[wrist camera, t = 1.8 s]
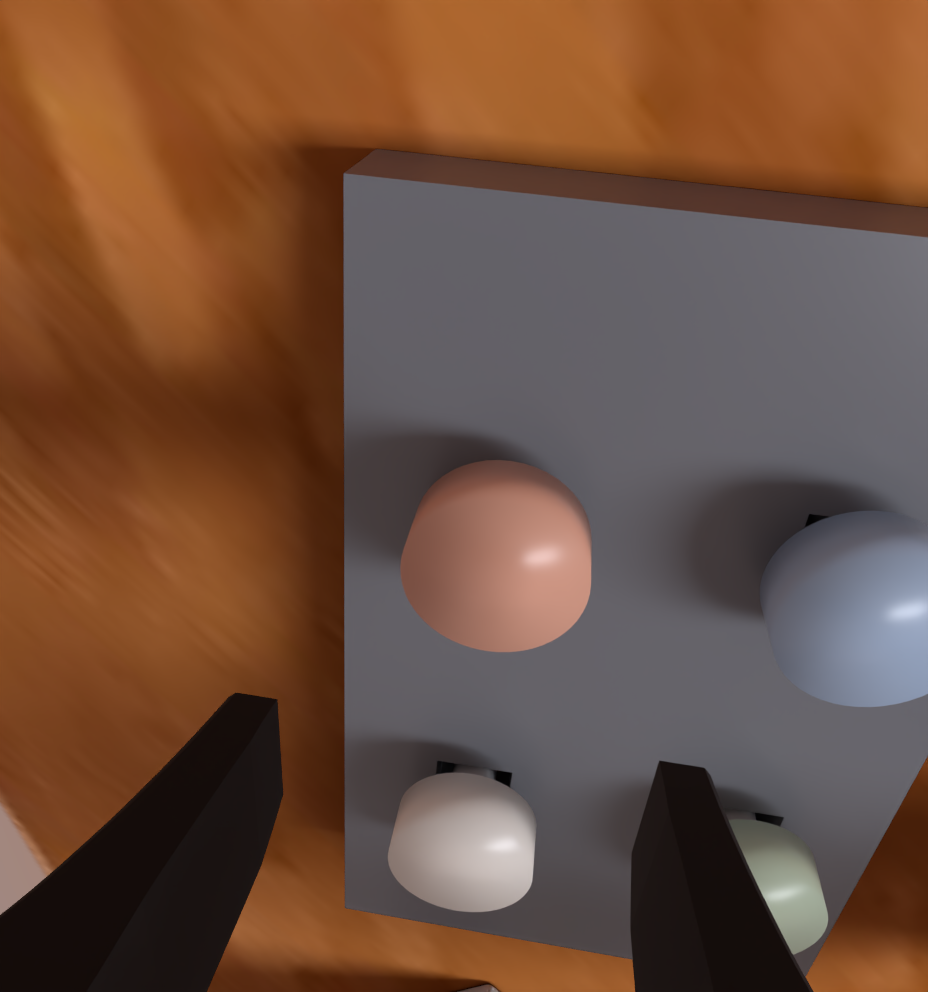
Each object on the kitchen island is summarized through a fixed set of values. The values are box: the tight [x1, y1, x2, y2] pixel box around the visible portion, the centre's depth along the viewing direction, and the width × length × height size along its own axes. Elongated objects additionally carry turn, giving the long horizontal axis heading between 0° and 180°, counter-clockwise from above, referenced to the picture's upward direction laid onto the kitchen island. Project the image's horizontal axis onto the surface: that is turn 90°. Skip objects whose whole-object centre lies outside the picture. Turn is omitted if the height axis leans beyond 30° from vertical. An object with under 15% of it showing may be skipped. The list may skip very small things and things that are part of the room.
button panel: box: [344, 149, 928, 976], centre depth 21 cm, size 14×22×2 cm, turn 176°
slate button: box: [760, 511, 928, 707], centre depth 17 cm, size 4×4×4 cm
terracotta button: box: [400, 460, 592, 652], centre depth 17 cm, size 4×4×4 cm
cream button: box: [388, 763, 536, 912], centre depth 22 cm, size 4×4×4 cm
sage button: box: [723, 807, 828, 955], centre depth 21 cm, size 4×4×4 cm
